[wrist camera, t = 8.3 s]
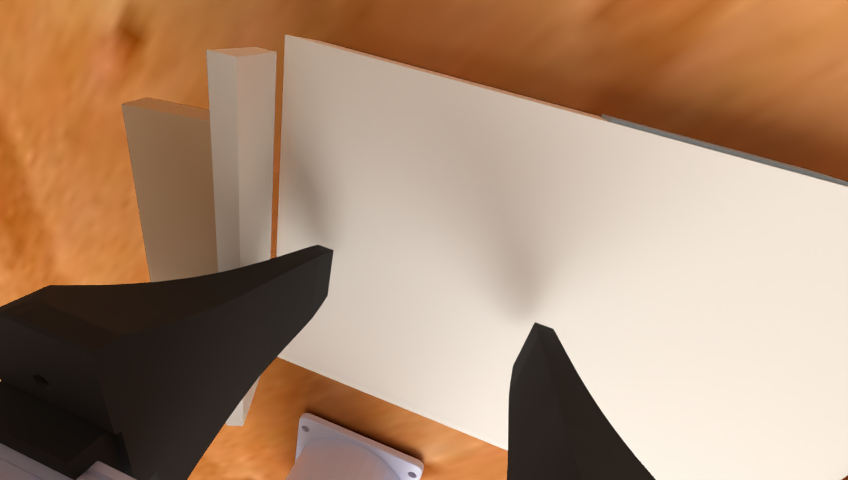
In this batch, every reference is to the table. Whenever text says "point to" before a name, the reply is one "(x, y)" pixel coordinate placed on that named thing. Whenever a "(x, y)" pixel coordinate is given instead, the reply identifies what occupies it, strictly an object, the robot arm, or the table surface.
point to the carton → (566, 266)
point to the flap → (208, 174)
